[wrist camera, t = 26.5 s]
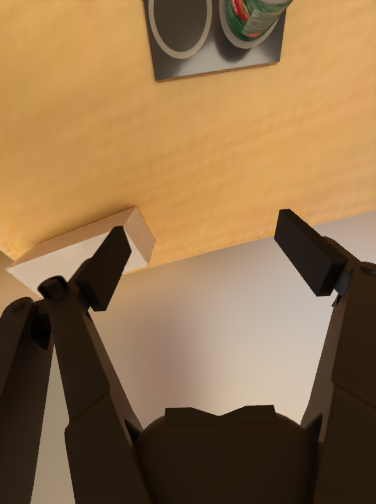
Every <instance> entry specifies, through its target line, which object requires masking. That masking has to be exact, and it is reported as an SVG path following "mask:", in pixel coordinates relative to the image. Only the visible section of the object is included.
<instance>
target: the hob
mask: <svg viewBox="0 0 376 504" xmlns="http://www.w3.org/2000/svg"><path fill="white" fill-rule="evenodd" d="M143 2H144V9H145V15H146V21H147V28H148V34H149V40H150V47H151V53H152V60H153V66H154V72H155V79H156V81H157V82H163V81H170V80H176V79H183V78H189V77H196V76H202V75H209V74H215V73H222V72H228V71H235V70H241V69H248V68H255V67H261V66H268V65H274V64H277V63H278V62H279V61H280V54H281V47H282V39H283V31H284V24H285V16H286V9H285V11H284V12H283V13H282V14H281V15H280V17H279V18H278V19H277V20H276V21H275V23H274V24H273V25H272V26H271V27H270V29H269V30H268V31H267V32H266V33H265V35H264V36H262V37H261V38H260V39H258V40H256V41H254V42H251V43H243V42H240V41H238V40H237V39H235V38H234V37H233V35H232V34H231V33H230V31H229V29H228V27H227V24H226V20H225V14H224V0H143Z"/></svg>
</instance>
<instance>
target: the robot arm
mask: <svg viewBox="0 0 376 504" xmlns="http://www.w3.org/2000/svg"><path fill="white" fill-rule="evenodd" d="M274 239H275V241H276V242H277V243H278V245H279V246H280V247H281V249H282V250H283V252H284V253H285V254H286V256H287V257H288V258H289V260H290V261H291V262H292V264H293V265H294V266H295V268H296V269H297V270H298V272H299V273H300V275H301V276H302V277H303V279H304V280H305V281H306V283H307V284H308V285H309V287H310V288H311V290H312V291H313V292H314V294H315V295H316V296H330V295H331V293H332V291H333V289H335V290H336V291H337V292H338V295H337V297H336V299H335V301H334V303H333V304H332V307H334V308H333V312H332V316H331V320H330V323H329V327H328V331H327V335H326V338H325V342H324V346H323V350H322V354H321V358H320V361H319V365H318V369H317V373H316V377H315V380H314V384H313V388H312V392H311V396H310V400H309V403H308V406H307V409H306V411H305V413H304V415H303V418H302V421H301V424H300V425H299V424H297V423H296V422H294V421H293V420H291V419H289V418H288V417H286V416H283V415H281V414H279V413H276V412H275V409H274V405H257V406H244V407H242V408H239V409H237V410H234V411H232V412H229V413H227V414H224V415H221V416H216V415H214V414H210V413H207V412H204V411H201V410H198V409H195V408H192V407H190V408H189V407H187V408H166V409H165V415H164V416H162V417H160V418H158V419H156V420H155V421H154V422H152V423H151V424H149V425H148V426H147V427H146V428H145V429H144V430H143V428H142V426H141V424H140V422H139V420H138V419H137V417H136V415H135V414H134V412H133V410H132V408H131V406H130V404H129V401H128V399H127V397H126V395H125V392H124V390H123V388H122V386H121V383H120V381H119V379H118V376H117V374H116V372H115V370H114V368H113V365H112V363H111V361H110V359H109V356H108V354H107V352H106V350H105V347H104V345H103V343H102V341H101V338H100V336H99V334H98V332H97V329H96V327H95V325H94V323H93V320H92V318H91V316H90V314H89V312H88V309H89V307H90V306H91V308H92V309H93V311H106V309H107V306H108V304H109V302H110V300H111V298H112V295H113V293H114V291H115V289H116V286H117V284H118V282H119V280H120V277H121V275H122V273H123V271H124V268H125V266H126V264H127V262H128V259H129V257H130V255H131V253H132V250H131V247H130V245H129V242H128V239H127V236H126V233H125V231H124V228H123V226H114V227H113V229H112V230H111V231H110V233H109V234H108V235H107V237H106V238H105V240H104V241H103V242H102V244H101V245H100V246H99V248H98V249H97V251H96V252H95V253H94V255H93V256H92V257H91V258H88V259H86V260H85V261H84V262H83V263H82V264H81V265H80V266H79V268H78V269H77V270H76V273H74V274H73V276H72V277H71V278H70V279H69V281H68V282H67V281H66V280H65V278H64V277H63V276H61V275H57V276H53V277H50V278H48V279H46V280H44V281H43V282H42V283H40V285H39V286H38V288H37V291H38V292H39V293H40V294H41V295H42V296H43V297H44V299H42V300H39V301H35V302H34V301H33V300H32V299H31V298H30V297H23V298H20V299H18V300H15V301H14V302H12V303H11V304H10V305H8V306H7V307H6V308H5V310H4V311H3V313H2V316H1V318H0V504H30V501H31V496H32V491H33V486H34V479H35V472H36V465H37V458H38V451H39V444H40V437H41V430H42V423H43V417H44V410H45V403H46V395H47V389H48V382H49V375H50V368H51V360H52V354H53V347H54V344H55V348H56V354H57V359H58V364H59V369H60V374H61V379H62V384H63V389H64V394H65V399H66V404H67V409H68V414H69V424H68V426H67V427H66V428H65V433H64V434H65V444H66V450H67V456H68V461H69V468H70V474H71V480H72V485H73V492H74V498H75V503H76V504H376V264H373V263H370V262H361V261H359V260H358V259H357V258H356V257H355V256H353V255H352V254H351V253H350V252H348V251H347V250H346V249H344V248H343V247H342V246H340V244H338V243H337V242H336V241H335V240H333V239H331V238H329V237H326V236H325V237H322V236H321V235H320V234H319V233H317V232H316V231H315V230H314V229H313V228H311V227H310V226H309V225H308V224H307V223H306V222H304V221H303V220H302V219H301V218H300V217H299V216H297V215H296V214H295V213H294V212H293V211H291V210H290V209H282V210H280V211H279V216H278V221H277V226H276V231H275V236H274Z"/></svg>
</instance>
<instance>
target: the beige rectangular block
mask: <svg viewBox="0 0 376 504" xmlns="http://www.w3.org/2000/svg"><path fill="white" fill-rule="evenodd" d="M114 226H123V228H124V231H125V233H126V236H127V239H128V242H129V245H130V247H131V250H132V253H131V255H130V257H129V259H128V262H127V264H126V266H125V268H124V271H123V273H126V272H129V271H132V270H136V269H139V268H142V267H146V266H149V262H150V259H151V255H152V252H153V248H154V244H155V239H154V237H153V235H152V234H151V232H150V230H149V228H148V227H147V225H146V223H145V221H144V219H143V218H142V216H141V214H140V212H139V211H138V209H137V207H136V206H135V207H133V208H130V209H127V210H125V211H122V212H119V213H117V214H114V215H112V216H109V217H106V218H104V219H101V220H99V221H96V222H93V223H91V224H88V225H86V226H83V227H80V228H78V229H75V230H73V231H70V232H67V233H65V234H62V235H60V236H57V237H54V238H52V239H49V240H46V241H44V242H41V243H39V244H36V245H35V246H34V247H33V248H31V249H30V250H29V251H28V252H26V253H25V254H24V255H22V256H21V257H20V258H19V259H17V260H16V261H15V262H14V263H12V264H11V265H10V266H9V267H7V268H6V270H7V271H8V272H9V273H11V274H12V275H13V276H15V277H16V278H17V279H18V280H20V281H21V282H22V283H24V284H25V285H26V286H27V287H28V288H30V289H31V290H32V291H34V292H35V293H36V294H37V295H39V296H40V297H41V298H42V297H43V296H42V295H41V294H40V293H39V292H38V291H37V288H38V286H39V285H40V283H42V282H43V281H44V280H46V279H48V278H50V277H53V276H57V275H61V276H63V277H64V278H65V280H66V281H67V282H68V281H69V279H70V278H71V277H72V276H73V274H74V273H76V270H77V269H78V268H79V266H80V265H81V264H82V263H83V262H84V261H85V260H86V259H88V258H91V257H92V256H93V255H94V253H95V252H96V251H97V249H98V248H99V246H100V245H101V244H102V242H103V241H104V240H105V238H106V237H107V235H108V234H109V233H110V231H111V230H112V229H113V227H114Z"/></svg>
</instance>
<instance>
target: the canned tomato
mask: <svg viewBox="0 0 376 504" xmlns="http://www.w3.org/2000/svg"><path fill="white" fill-rule="evenodd" d="M292 1H293V0H224V14H225V20H226V24H227V27H228V29H229V31H230V33H231V34H232V35H233V37H234V38H235V39H237V40H238V41H240V42H243V43H251V42H254V41H256V40H258V39H260V38H261V37H262V36H264V35H265V33H266V32H267V31H268V30H269V29H270V27H271V26H272V25H273V24H274V23H275V21H276V20H277V19H278V18H279V17H280V15H281V14H282V13H283V12H284V11H285V9H286V8H287V7H288V6H289V5H290V3H291V2H292Z"/></svg>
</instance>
